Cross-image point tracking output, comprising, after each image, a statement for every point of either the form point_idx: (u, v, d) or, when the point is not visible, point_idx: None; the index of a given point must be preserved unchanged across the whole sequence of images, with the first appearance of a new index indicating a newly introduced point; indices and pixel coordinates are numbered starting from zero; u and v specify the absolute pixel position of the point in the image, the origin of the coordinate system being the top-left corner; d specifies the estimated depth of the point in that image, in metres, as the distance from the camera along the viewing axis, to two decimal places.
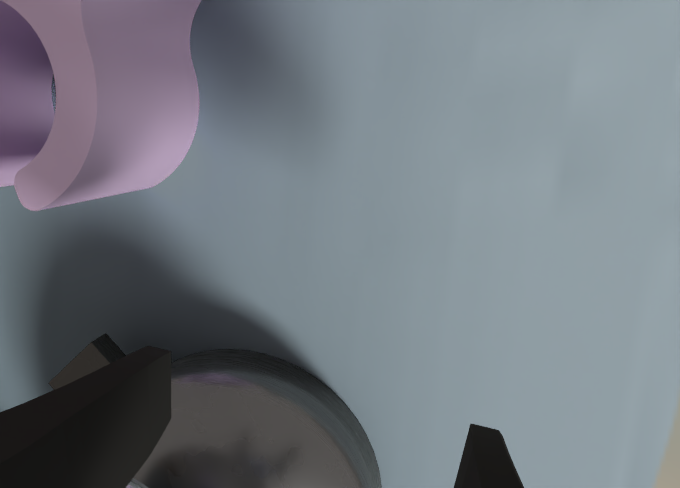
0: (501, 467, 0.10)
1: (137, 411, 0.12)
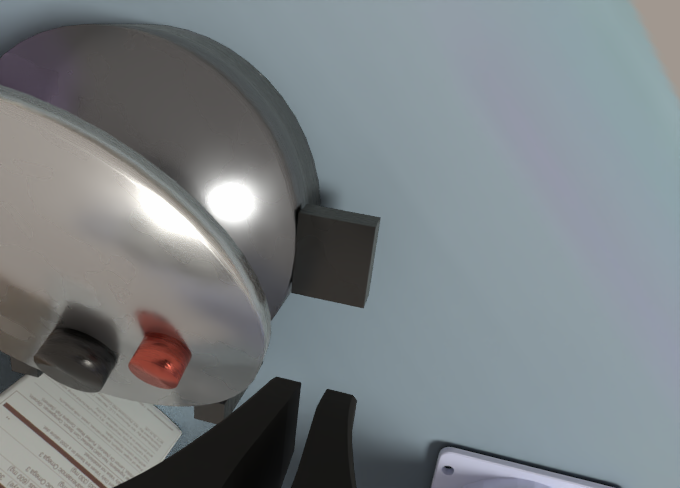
0: (335, 425, 0.11)
1: (277, 448, 0.12)
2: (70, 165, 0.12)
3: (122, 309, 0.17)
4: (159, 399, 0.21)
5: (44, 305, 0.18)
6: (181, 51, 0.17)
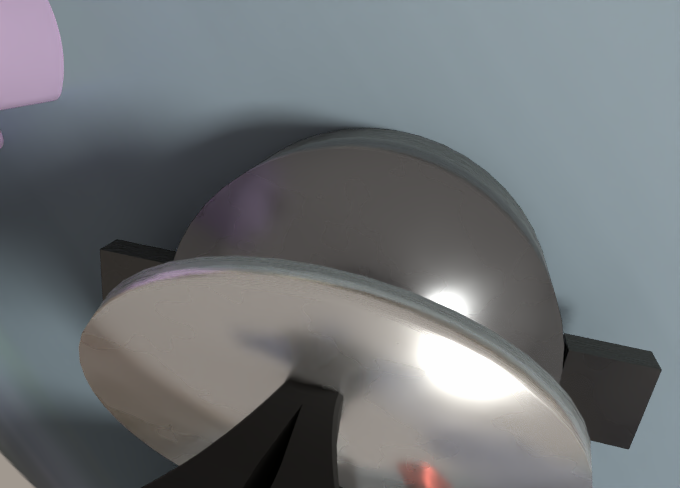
0: (320, 422, 0.11)
1: None
2: (456, 372, 0.11)
3: (404, 475, 0.15)
4: None
5: None
6: (460, 181, 0.15)
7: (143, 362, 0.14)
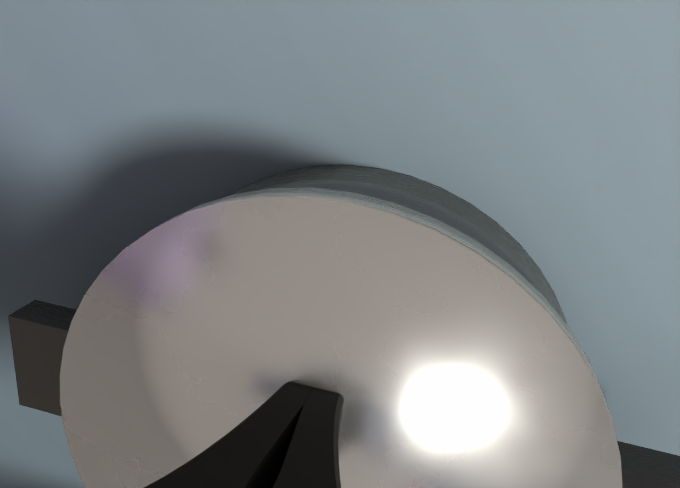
0: (322, 422, 0.11)
1: None
2: (479, 296, 0.11)
3: None
4: None
5: None
6: None
7: (139, 335, 0.13)
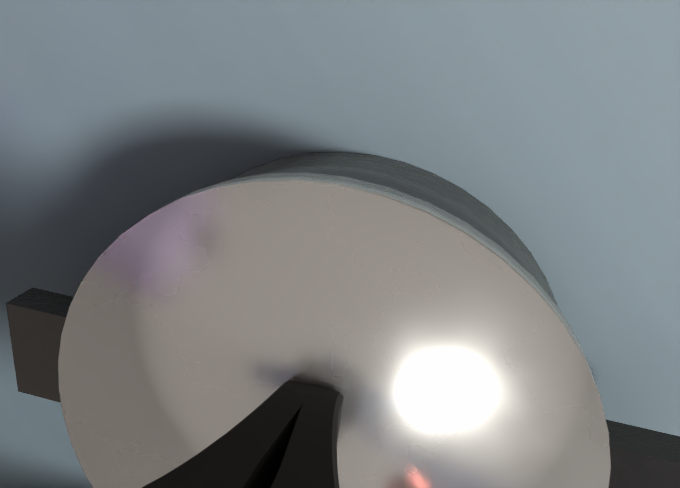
0: (320, 422, 0.11)
1: None
2: (471, 277, 0.11)
3: (403, 484, 0.13)
4: None
5: None
6: None
7: (137, 320, 0.13)
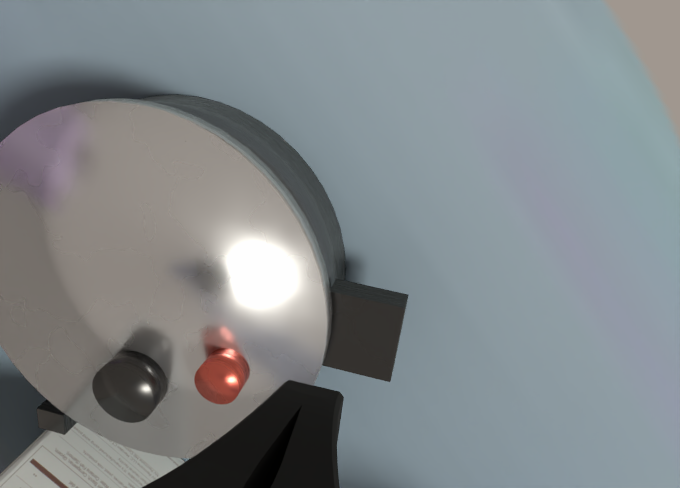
0: (320, 422, 0.11)
1: None
2: (221, 165, 0.17)
3: (201, 320, 0.19)
4: (189, 449, 0.21)
5: (122, 321, 0.20)
6: None
7: (17, 204, 0.19)
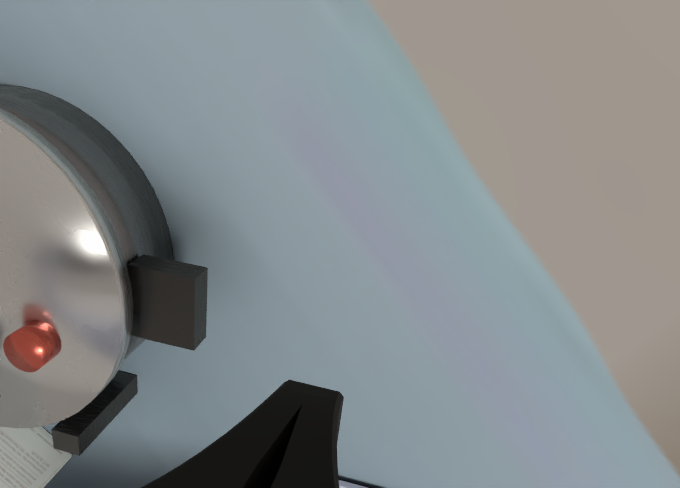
0: (320, 422, 0.11)
1: None
2: (5, 146, 0.18)
3: (12, 294, 0.20)
4: (22, 419, 0.23)
5: None
6: None
7: None
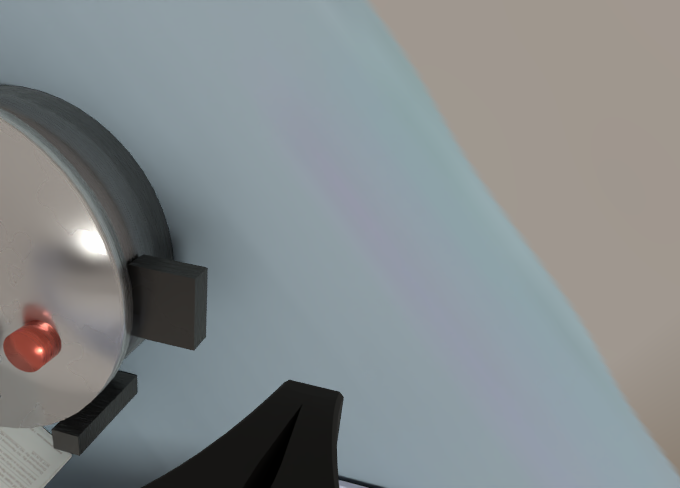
0: (320, 422, 0.11)
1: None
2: (5, 146, 0.18)
3: (12, 294, 0.20)
4: (22, 419, 0.23)
5: None
6: None
7: None
